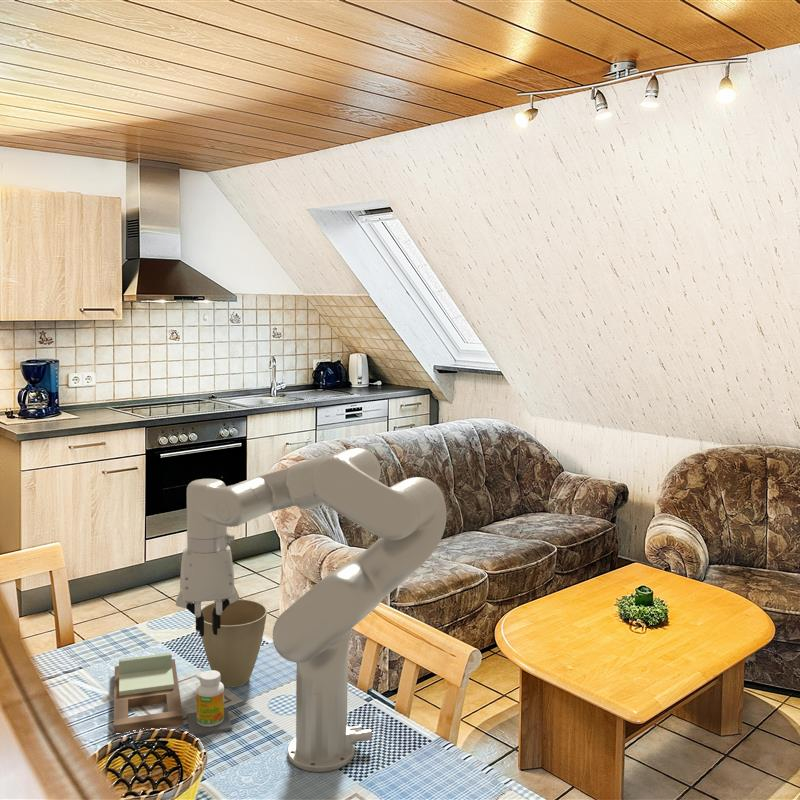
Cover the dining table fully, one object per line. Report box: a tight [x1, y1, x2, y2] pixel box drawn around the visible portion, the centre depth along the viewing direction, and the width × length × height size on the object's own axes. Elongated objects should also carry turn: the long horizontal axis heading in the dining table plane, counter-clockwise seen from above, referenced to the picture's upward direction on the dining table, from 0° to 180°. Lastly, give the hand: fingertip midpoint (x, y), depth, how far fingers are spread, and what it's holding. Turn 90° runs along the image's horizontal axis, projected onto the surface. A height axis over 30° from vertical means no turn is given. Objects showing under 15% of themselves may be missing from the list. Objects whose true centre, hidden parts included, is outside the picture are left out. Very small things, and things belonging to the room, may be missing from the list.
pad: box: [186, 707, 233, 737], centre depth 159 cm, size 8×8×1 cm
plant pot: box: [201, 598, 268, 688], centre depth 176 cm, size 15×15×16 cm
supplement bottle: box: [195, 669, 225, 727], centre depth 158 cm, size 5×5×10 cm
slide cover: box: [118, 652, 174, 696], centre depth 171 cm, size 11×9×4 cm
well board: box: [113, 658, 184, 735], centre depth 168 cm, size 13×26×2 cm, turn 19°
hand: (208, 632), depth 157 cm, fingers closed
